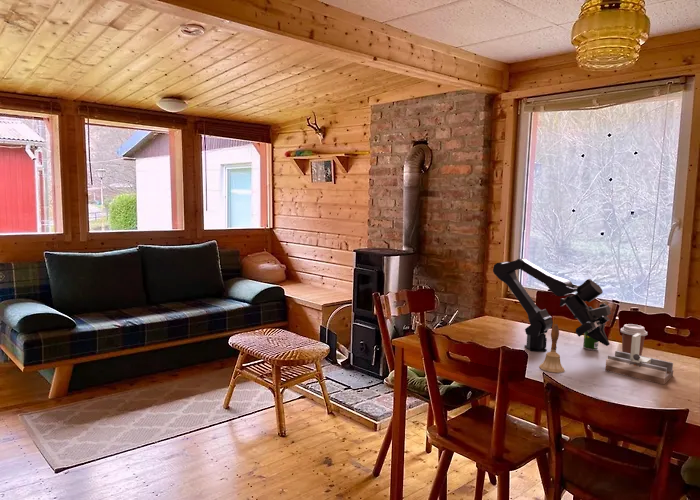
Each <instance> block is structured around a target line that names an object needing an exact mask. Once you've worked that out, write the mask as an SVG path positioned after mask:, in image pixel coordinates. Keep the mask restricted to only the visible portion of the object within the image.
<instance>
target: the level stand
mask: <svg viewBox="0 0 700 500" xmlns="http://www.w3.org/2000/svg"><path fill="white" fill-rule="evenodd" d="M630 355H631V354H630V353H625V352H622V350H621V351H619V350H615V351H614V355H610V354H608V355H607V358H606V359H605V367H604V369H605V371H606V372H611V373H613V374H618V375H622V376H627V377H631V378H635V379H639V380H643V381H647V382H652V383H656V384H660V385H665V384H666V383H667V382H668V381H669V380H670V379H671V378H673V376H674V370H673V369H674V362H671V361H667V360H662V359H658V358H653V357H649V356H645V355H641V357H646V358H650V359H651V364H647V363H642V362H639V363H637V362H632V360H630ZM639 356H640V355H639Z"/></svg>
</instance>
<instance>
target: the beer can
mask: <svg viewBox="0 0 700 500" xmlns="http://www.w3.org/2000/svg"><path fill="white" fill-rule="evenodd" d="M587 333H589V332H588V331H587V332H585V333H584V334H583V344H582V345H583V346H582V347H583V348H584V349H585V350H587V351H598V349H599V343H600V342H599V341H597V340H595V339H593V338H591V337H589V336H586V334H587Z"/></svg>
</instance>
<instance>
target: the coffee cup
mask: <svg viewBox="0 0 700 500" xmlns="http://www.w3.org/2000/svg"><path fill="white" fill-rule="evenodd" d="M620 333H621V352H625V353H630V354H631V344H632V336H633V335H635V334H636V333H639V334H641V339H640V350H639V355H640V356H643V355H642V354H643V349H644V345H645V339H646V336H648V331H646V330H645V327H644V326H642V325H641V324H640V325H638V324H633V323H628V324H627V323H626V324H624V325H623V327H621V328H620Z"/></svg>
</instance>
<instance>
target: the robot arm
mask: <svg viewBox="0 0 700 500" xmlns="http://www.w3.org/2000/svg"><path fill="white" fill-rule="evenodd" d="M518 270H521V271H523V272H524V273H526V274H528V275H529V276H530V277H533V278H535V279H536V280H538V281H539V282H541V283H543V284H544V285H545V286H546V287H547V288H548V289H549V291H551V292H552V293H553V294H554V295H556V296H557V297H565V296H566V297H565V298H560V299H559V300H560V302H559V307H564V306H565V305H566V307H567V308H568V309H569V310H570V312H571V313H572V314H573V316H572V317H573V318H574V319H577V320H578V322H579V323H580V325H579V326H578V327H577V328H575V334H576V335H577V337H581V336H584V333H585V332H587V331H588V332H589V333H587V334H586V336H589V337H591V338H593V339H595V340H597V341H599V342H598V343H601V344H602V345H603V346H606V347H608V346H610V345H611V343H610V342H609V339H608V337H607V334H606V331H605V326H606V323H607V322H609V321H610V318H609V317H608V316H610V315H612V312H611V310H612V308H611V307H610V305H608V304H606V303H601V304H599V307H596V308H593V307H592V306H588V305H587V303H591V302H592V301H594V300H595V299H596V298H598V297H599V296H601V295H602V294H603V293H604V292H603V290H602V287H601V286H600V285H599V284H597V282H595V281H594V280H592V279H591V278H588V279H586V280H585V281H584V282H583V283H581V284H580V285H577V284H574V283H573V282H572V281H570V280H569V279H566V278H563V277H560V276H558V275H557V276H556V275H554V274H551V273H549V272H548V271H546V270H544V269H543V268H541V267H539V266H538V265H536V264H534V263H533V262H530V261H529V260H528V259H527V258H525V257H523V258H522V257H521V258H518V259H516V260H513V261H501V262H497V263H495V264H494V265H493V267H492V272H493V274H494V275H495V276H496V277H497V279H499V281H501V282H503V284H504V283H505V285H507V287H508V288H509V289H510V291H511V293H512V294H513V295H514V297H515V298H516V300H517V301H518V302H519V304H520V305H521V307H522V309H524V311H525V312H526V314H527V317H528V322H529V325H528V326H527V327H526V328H525V329H524V332H525V334H526V335H527V336H526V344H524V348H526V349H528V350H529V351H530V352H546V351H548V350H547V337H546V336H547V333H548V331H549V330H551V328H553V319H552V318H553V317H552V316H551V315H550V314H549V312H548V310H547V309H546V308H544V309H541V308H540V307H538V306H537V304H536V303H535V302H534V300H533V298H532V297H531V296H530V294H529V293H528V292H527V290H526V289H525V287H524V286H523V285H522V283H521V281H519V280H518V276H517V271H518ZM573 293H575V294H573ZM586 302H587V303H586Z"/></svg>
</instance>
